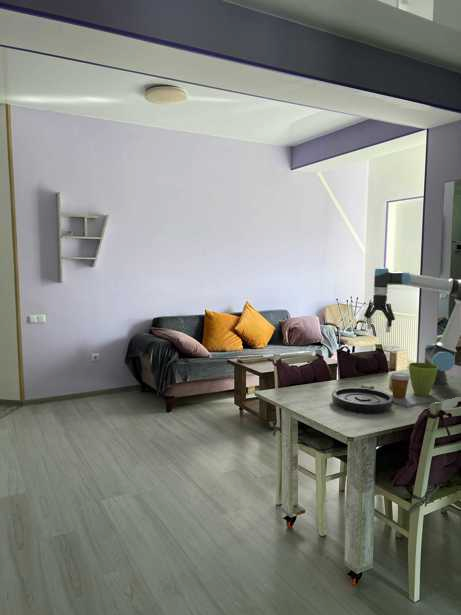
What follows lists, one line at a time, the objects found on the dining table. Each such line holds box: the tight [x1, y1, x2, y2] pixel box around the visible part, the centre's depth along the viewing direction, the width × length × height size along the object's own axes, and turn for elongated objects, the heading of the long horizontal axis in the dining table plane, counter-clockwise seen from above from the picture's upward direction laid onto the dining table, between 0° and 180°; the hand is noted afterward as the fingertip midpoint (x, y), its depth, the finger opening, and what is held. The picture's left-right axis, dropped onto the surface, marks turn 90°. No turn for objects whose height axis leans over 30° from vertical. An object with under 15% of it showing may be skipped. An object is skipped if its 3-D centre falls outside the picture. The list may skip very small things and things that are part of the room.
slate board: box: [391, 393, 430, 408], centre depth 249 cm, size 18×16×1 cm
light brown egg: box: [388, 374, 392, 389], centre depth 273 cm, size 5×5×7 cm
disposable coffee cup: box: [390, 372, 410, 398], centre depth 252 cm, size 10×10×12 cm
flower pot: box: [408, 362, 438, 397], centre depth 261 cm, size 15×15×16 cm
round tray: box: [331, 386, 394, 415], centre depth 239 cm, size 30×6×30 cm
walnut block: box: [360, 383, 375, 389], centre depth 259 cm, size 5×5×5 cm
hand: (378, 330), depth 279 cm, fingers open, 13 cm apart
